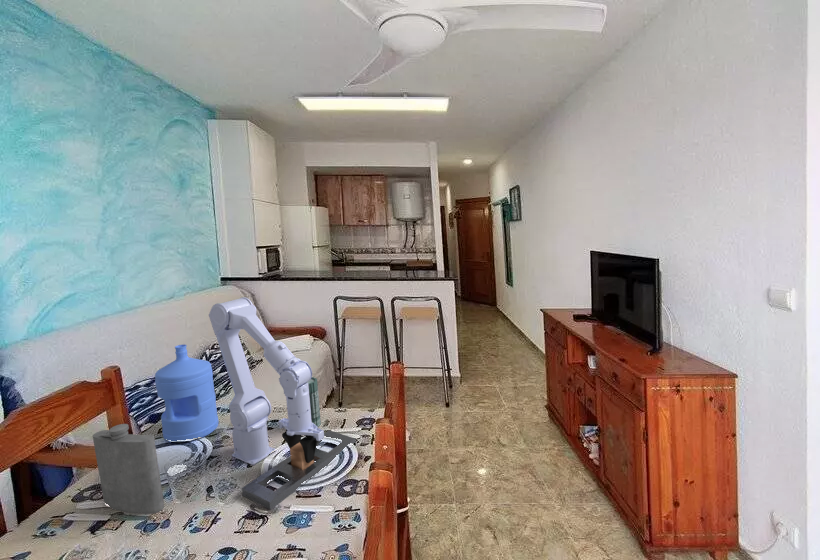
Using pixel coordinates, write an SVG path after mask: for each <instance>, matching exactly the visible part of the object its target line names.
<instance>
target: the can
mask: <svg viewBox="0 0 820 560" xmlns="http://www.w3.org/2000/svg"><path fill="white" fill-rule="evenodd" d="M307 383H308V386H309V397H310V409H311V421H312V423H314V424H315V425H316V426H317V427H319V426H320V425H322V421H321V419H322V418H321V411H320V410H321V409H320V397H319V387H318V385H319V384H318V383H319V382H318V378H316V377H315V376H312V378H311V380H309V381H308V382H307ZM320 427H321V426H320ZM320 427H319V428H320Z"/></svg>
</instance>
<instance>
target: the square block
mask: <svg viewBox="0 0 820 560" xmlns="http://www.w3.org/2000/svg"><path fill="white" fill-rule="evenodd" d="M289 452H290V453H289V454H290V455H289V456H291V466H294V467H296V468H299V469H301V470H305V469H306V468H307V467H309V466H310V465H311V464H313V463H314V460H312V461H311V462H310V463H306V460H305V455H304V450H303V447H302V445H301V444H300V442H299V443H298V444H296V445H295V446H293V447H292V448H289Z"/></svg>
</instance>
